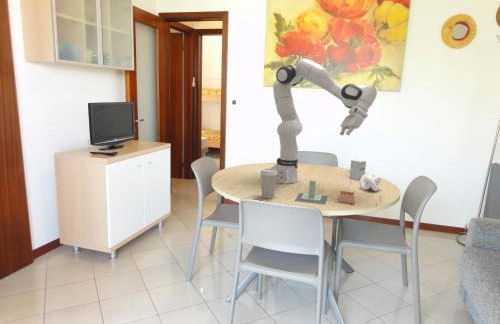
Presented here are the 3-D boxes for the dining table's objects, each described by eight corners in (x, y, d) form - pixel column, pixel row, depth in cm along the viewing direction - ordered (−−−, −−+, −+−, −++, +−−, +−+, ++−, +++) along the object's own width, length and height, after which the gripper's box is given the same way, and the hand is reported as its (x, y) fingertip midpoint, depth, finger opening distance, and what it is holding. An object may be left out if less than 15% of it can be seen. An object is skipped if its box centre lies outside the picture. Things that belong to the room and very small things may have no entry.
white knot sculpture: (356, 190, 212) (357, 175, 210) (362, 186, 222) (363, 172, 220) (375, 193, 206) (377, 178, 204) (380, 189, 216) (382, 174, 214)
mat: (294, 201, 186) (294, 201, 186) (299, 193, 201) (299, 192, 201) (325, 205, 182) (325, 204, 182) (327, 196, 197) (328, 196, 197)
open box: (338, 202, 187) (338, 194, 186) (338, 198, 194) (339, 190, 193) (353, 204, 184) (354, 196, 183) (354, 200, 192) (354, 192, 191)
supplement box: (358, 180, 235) (360, 161, 233) (349, 178, 241) (350, 159, 238) (364, 179, 240) (366, 160, 237) (355, 176, 246) (357, 158, 243)
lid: (300, 200, 188) (302, 181, 186) (303, 194, 197) (304, 177, 195) (320, 202, 185) (321, 183, 183) (321, 197, 195) (323, 179, 193)
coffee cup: (280, 197, 194) (281, 170, 191) (269, 200, 187) (270, 173, 184) (266, 193, 200) (267, 167, 197) (255, 196, 193) (256, 169, 190)
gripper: (345, 111, 204) (333, 132, 204) (359, 108, 184) (345, 131, 184) (354, 117, 205) (342, 137, 205) (369, 115, 184) (355, 137, 184)
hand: (344, 134), depth 194 cm, fingers open, 8 cm apart
